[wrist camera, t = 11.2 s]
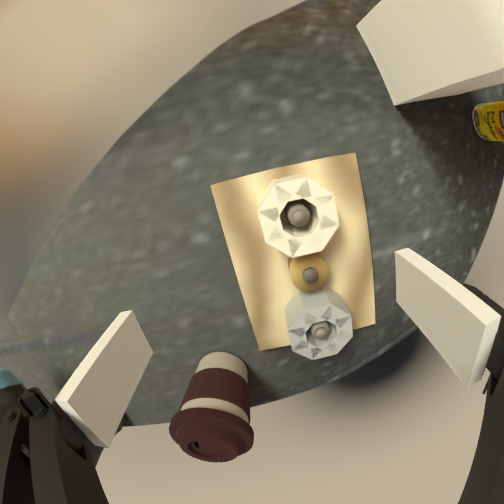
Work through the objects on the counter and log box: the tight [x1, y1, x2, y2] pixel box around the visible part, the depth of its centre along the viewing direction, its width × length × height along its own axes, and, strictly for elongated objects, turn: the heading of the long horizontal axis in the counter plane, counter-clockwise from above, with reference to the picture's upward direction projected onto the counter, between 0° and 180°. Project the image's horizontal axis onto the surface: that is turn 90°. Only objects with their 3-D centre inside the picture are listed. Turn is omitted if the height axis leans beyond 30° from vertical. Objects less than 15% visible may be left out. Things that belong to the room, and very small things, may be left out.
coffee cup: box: [169, 352, 254, 462], centre depth 31 cm, size 10×10×15 cm
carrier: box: [211, 153, 375, 351], centre depth 29 cm, size 16×22×7 cm
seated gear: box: [285, 285, 353, 360], centre depth 30 cm, size 7×7×5 cm
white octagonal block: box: [258, 174, 339, 258], centre depth 27 cm, size 7×7×5 cm
